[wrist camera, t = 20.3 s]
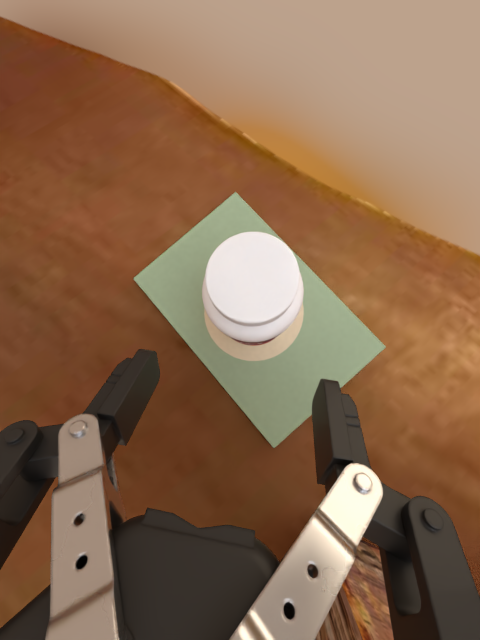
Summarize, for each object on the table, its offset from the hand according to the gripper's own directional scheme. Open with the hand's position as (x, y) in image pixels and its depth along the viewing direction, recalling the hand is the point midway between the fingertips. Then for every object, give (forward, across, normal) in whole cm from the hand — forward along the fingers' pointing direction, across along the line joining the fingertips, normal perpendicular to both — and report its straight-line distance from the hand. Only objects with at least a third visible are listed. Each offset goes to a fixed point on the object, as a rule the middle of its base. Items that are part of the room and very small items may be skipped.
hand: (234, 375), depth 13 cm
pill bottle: (+11, 0, +4) cm, 12 cm away
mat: (+12, 0, +4) cm, 12 cm away
